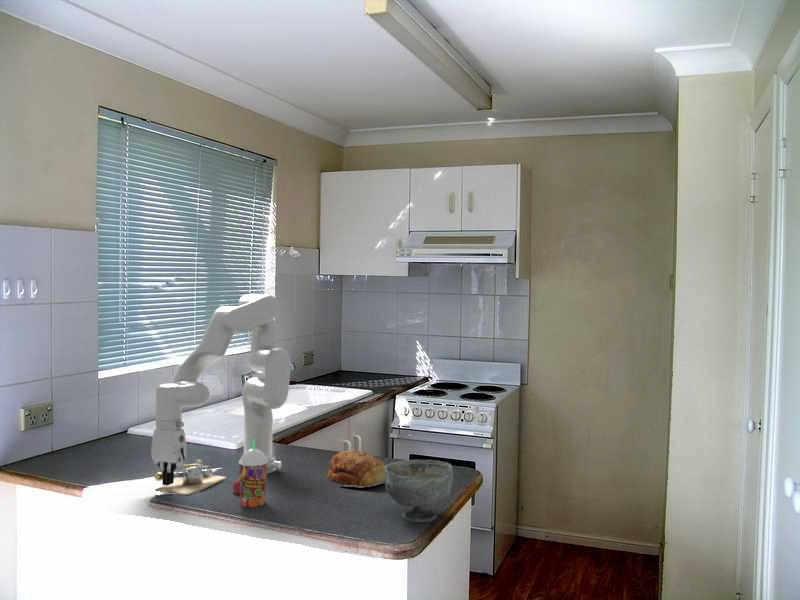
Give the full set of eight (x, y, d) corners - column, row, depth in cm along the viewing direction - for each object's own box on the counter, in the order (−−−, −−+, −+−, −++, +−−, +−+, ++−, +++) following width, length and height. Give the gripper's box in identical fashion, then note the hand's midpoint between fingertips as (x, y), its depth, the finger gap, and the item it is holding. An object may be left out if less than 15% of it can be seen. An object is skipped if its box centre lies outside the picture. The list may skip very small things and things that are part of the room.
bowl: (394, 505, 203) (395, 454, 203) (458, 512, 197) (459, 460, 197) (373, 526, 184) (374, 471, 184) (443, 535, 179) (444, 478, 178)
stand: (227, 483, 222) (227, 461, 221) (188, 500, 203) (188, 477, 203) (196, 478, 226) (196, 457, 226) (155, 495, 207) (155, 473, 207)
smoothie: (240, 514, 192) (241, 443, 192) (235, 505, 200) (236, 437, 199) (270, 510, 195) (271, 441, 195) (263, 502, 203) (265, 435, 203)
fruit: (243, 501, 203) (244, 475, 203) (230, 498, 206) (230, 471, 206) (258, 496, 208) (259, 470, 208) (245, 493, 211) (245, 467, 211)
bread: (359, 471, 240) (360, 443, 240) (401, 481, 229) (402, 451, 229) (319, 484, 223) (320, 454, 223) (362, 495, 212) (363, 463, 212)
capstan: (211, 477, 219) (211, 460, 219) (214, 482, 214) (214, 464, 214) (153, 483, 212) (153, 465, 212) (155, 488, 207) (155, 470, 207)
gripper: (196, 424, 209) (196, 483, 209) (157, 420, 214) (156, 478, 214) (181, 429, 202) (180, 490, 202) (140, 424, 207) (139, 484, 207)
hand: (168, 484), depth 208 cm, fingers closed
